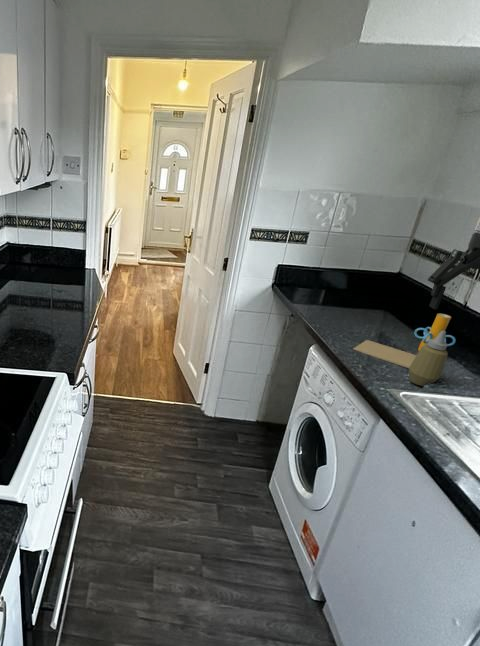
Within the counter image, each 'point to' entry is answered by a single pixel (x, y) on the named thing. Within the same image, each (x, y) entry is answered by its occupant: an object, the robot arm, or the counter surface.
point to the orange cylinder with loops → (435, 330)
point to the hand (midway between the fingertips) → (459, 310)
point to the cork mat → (386, 353)
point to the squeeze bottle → (429, 361)
